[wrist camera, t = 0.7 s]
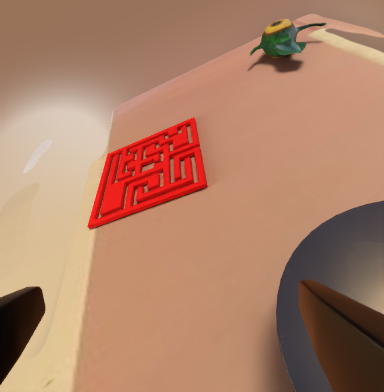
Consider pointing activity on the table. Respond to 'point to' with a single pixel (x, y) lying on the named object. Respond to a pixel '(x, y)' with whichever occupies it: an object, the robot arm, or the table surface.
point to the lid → (330, 283)
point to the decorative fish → (282, 39)
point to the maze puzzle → (148, 174)
